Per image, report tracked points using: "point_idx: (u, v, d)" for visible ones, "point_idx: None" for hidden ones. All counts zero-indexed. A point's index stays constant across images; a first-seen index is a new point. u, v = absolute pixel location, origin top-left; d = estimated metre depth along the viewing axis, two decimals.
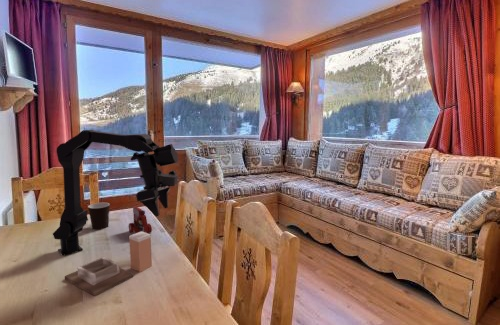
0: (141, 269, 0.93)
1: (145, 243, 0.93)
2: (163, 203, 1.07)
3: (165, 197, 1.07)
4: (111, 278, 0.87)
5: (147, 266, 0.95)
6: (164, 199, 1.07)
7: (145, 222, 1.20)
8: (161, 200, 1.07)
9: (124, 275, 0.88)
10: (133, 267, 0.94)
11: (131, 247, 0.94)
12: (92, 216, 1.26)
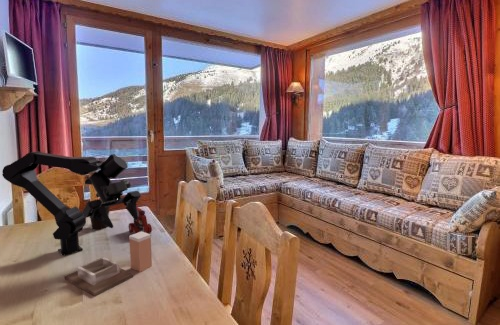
0: (141, 269, 0.93)
1: (145, 243, 0.93)
2: (133, 215, 1.02)
3: (132, 209, 1.02)
4: (111, 278, 0.87)
5: (147, 266, 0.95)
6: (132, 211, 1.02)
7: (145, 222, 1.20)
8: (131, 213, 1.03)
9: (124, 275, 0.88)
10: (133, 267, 0.94)
11: (131, 247, 0.94)
12: None
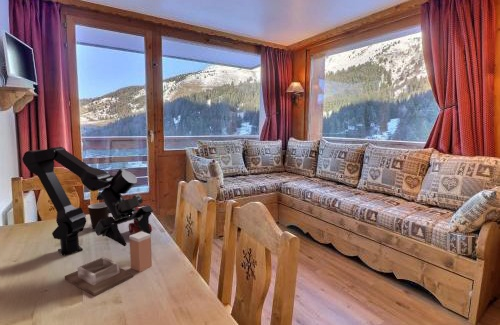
0: (141, 269, 0.93)
1: (146, 243, 0.94)
2: (145, 231, 1.00)
3: (145, 225, 1.00)
4: (111, 278, 0.87)
5: (147, 266, 0.95)
6: (145, 227, 1.00)
7: None
8: (143, 229, 1.00)
9: (124, 275, 0.88)
10: (133, 267, 0.94)
11: (131, 247, 0.94)
12: (92, 216, 1.26)
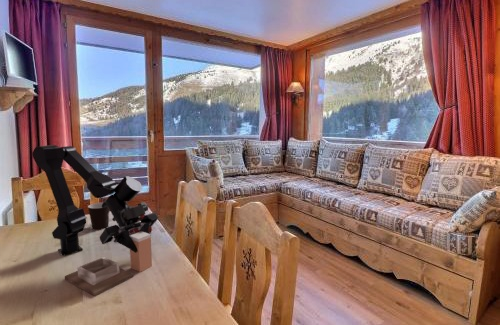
0: (141, 269, 0.93)
1: (146, 243, 0.93)
2: None
3: None
4: (111, 278, 0.87)
5: (147, 266, 0.95)
6: None
7: None
8: None
9: (124, 275, 0.88)
10: (133, 267, 0.94)
11: None
12: (92, 216, 1.26)
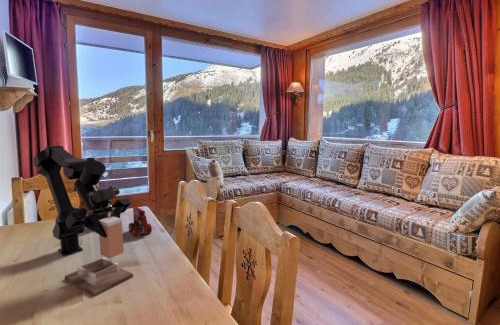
0: (111, 255, 0.88)
1: (116, 227, 0.88)
2: None
3: None
4: (111, 278, 0.87)
5: (118, 252, 0.89)
6: None
7: (145, 222, 1.20)
8: None
9: (124, 275, 0.88)
10: (103, 253, 0.89)
11: None
12: None
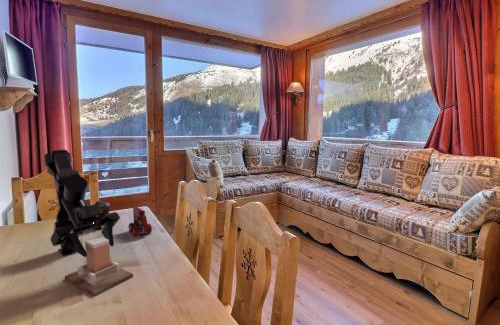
0: None
1: (103, 249, 0.86)
2: None
3: (108, 234, 0.91)
4: (111, 278, 0.87)
5: None
6: (108, 236, 0.91)
7: (145, 222, 1.20)
8: (107, 238, 0.92)
9: (124, 275, 0.88)
10: None
11: (87, 254, 0.87)
12: None
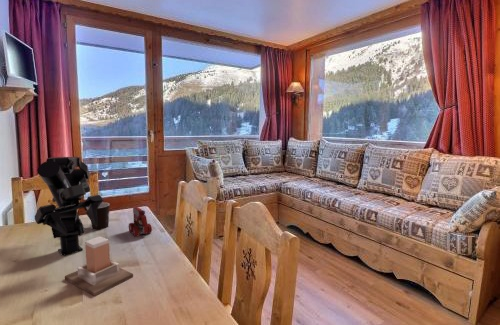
0: None
1: (103, 249, 0.87)
2: (93, 221, 0.96)
3: (92, 214, 0.96)
4: (111, 278, 0.87)
5: None
6: (92, 217, 0.96)
7: (145, 222, 1.20)
8: (91, 219, 0.96)
9: (124, 275, 0.88)
10: None
11: (86, 254, 0.87)
12: None
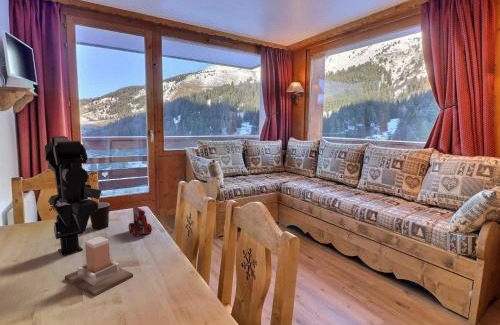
0: None
1: (103, 249, 0.87)
2: (66, 220, 0.95)
3: (69, 213, 0.96)
4: (111, 278, 0.87)
5: None
6: (67, 216, 0.96)
7: (145, 222, 1.20)
8: (64, 217, 0.95)
9: (124, 275, 0.88)
10: None
11: (86, 254, 0.87)
12: (92, 216, 1.26)
